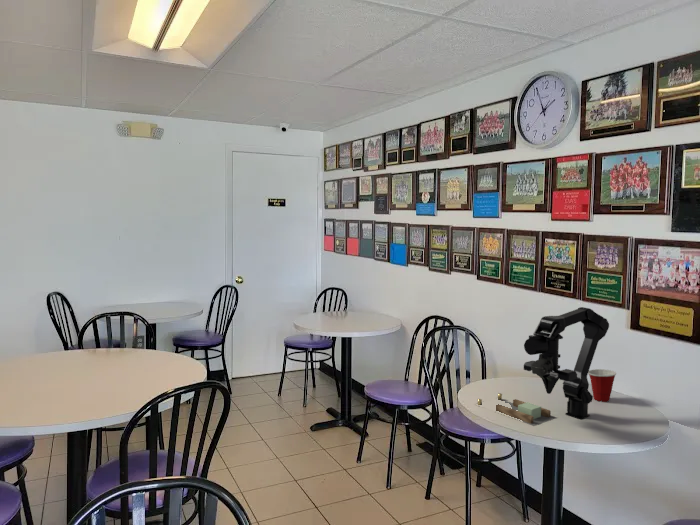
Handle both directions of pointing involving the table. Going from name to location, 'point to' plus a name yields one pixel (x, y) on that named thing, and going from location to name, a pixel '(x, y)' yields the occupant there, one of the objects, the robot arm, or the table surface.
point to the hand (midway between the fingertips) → (548, 393)
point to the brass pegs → (498, 399)
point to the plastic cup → (601, 383)
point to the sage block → (530, 409)
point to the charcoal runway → (535, 421)
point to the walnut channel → (519, 414)
